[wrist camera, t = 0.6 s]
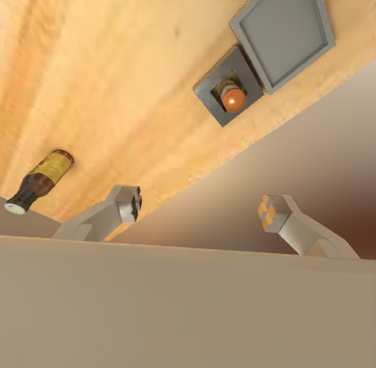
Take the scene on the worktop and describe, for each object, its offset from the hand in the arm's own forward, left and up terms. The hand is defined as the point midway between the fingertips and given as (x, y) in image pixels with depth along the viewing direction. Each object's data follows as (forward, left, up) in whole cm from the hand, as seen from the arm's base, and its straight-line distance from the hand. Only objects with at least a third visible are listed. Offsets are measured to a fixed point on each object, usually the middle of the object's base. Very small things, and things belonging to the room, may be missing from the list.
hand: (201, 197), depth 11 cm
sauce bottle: (-11, -43, -36) cm, 58 cm away
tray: (+6, +18, -36) cm, 41 cm away
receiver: (+7, +5, -36) cm, 37 cm away
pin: (+7, +5, -36) cm, 37 cm away
